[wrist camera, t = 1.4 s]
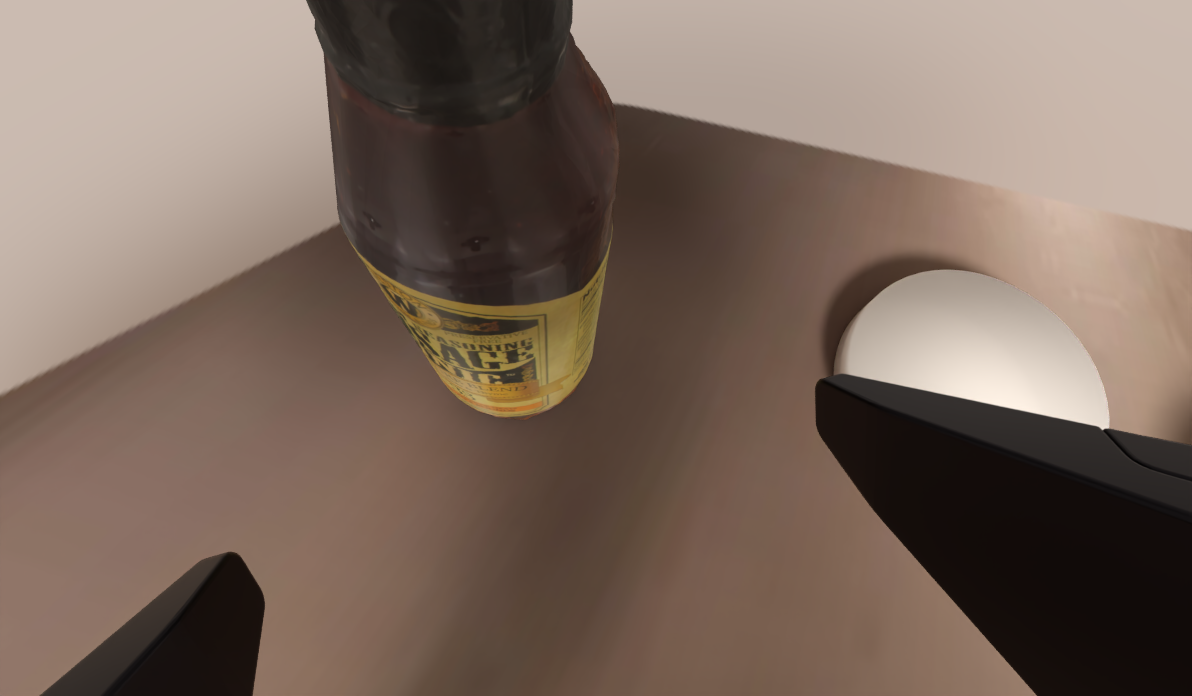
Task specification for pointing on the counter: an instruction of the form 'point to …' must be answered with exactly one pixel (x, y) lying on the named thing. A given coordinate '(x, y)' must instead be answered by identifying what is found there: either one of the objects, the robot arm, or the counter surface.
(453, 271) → the sauce bottle
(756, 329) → the counter surface
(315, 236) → the counter surface
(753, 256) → the counter surface
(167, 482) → the counter surface
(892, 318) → the coaster
